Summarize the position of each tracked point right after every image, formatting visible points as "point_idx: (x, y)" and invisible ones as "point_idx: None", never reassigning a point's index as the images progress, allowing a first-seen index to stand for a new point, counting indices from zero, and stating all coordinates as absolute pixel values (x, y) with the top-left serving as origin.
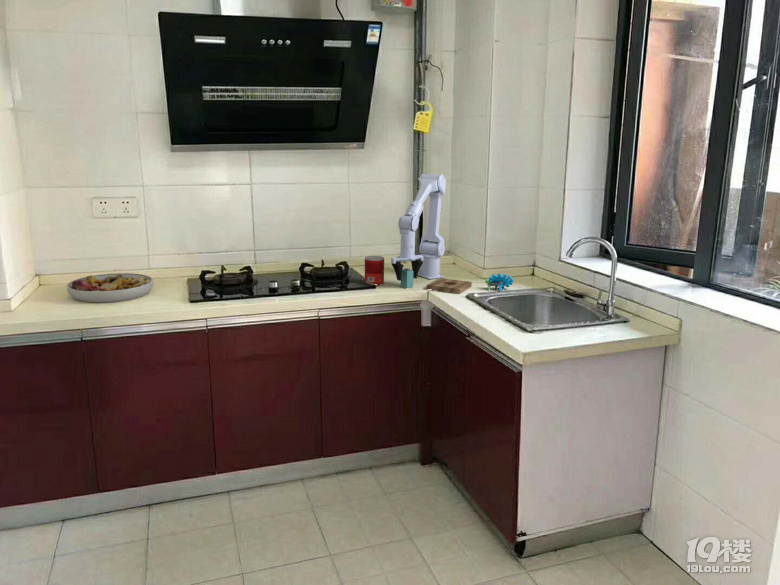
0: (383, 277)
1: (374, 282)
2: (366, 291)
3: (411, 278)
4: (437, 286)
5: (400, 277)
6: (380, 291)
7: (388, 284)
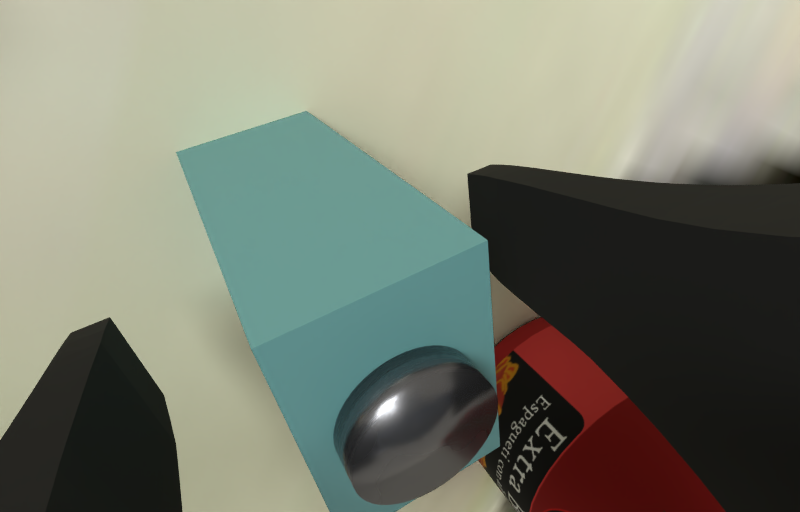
0: (523, 410)
1: None
2: (725, 98)
3: (259, 209)
4: None
5: (534, 173)
6: (647, 57)
7: None
